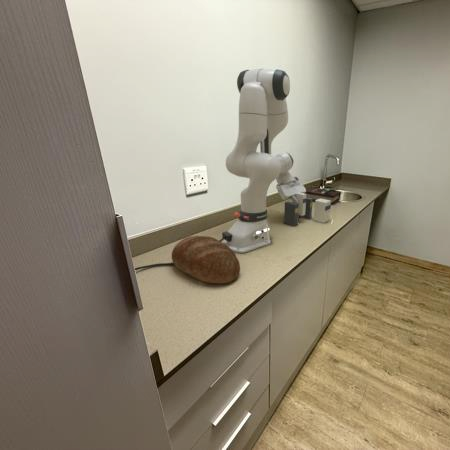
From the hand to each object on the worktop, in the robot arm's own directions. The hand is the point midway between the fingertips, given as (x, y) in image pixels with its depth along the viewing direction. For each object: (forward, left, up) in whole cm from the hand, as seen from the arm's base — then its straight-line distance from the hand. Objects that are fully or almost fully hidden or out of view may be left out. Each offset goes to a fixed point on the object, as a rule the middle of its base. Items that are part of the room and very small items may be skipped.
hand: (300, 202), depth 135 cm
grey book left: (-7, +1, -11) cm, 13 cm away
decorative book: (+51, +14, -11) cm, 54 cm away
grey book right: (+7, +1, -11) cm, 13 cm away
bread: (-64, -3, -11) cm, 65 cm away
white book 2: (+8, -9, -11) cm, 16 cm away
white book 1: (0, +1, -7) cm, 7 cm away
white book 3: (+11, -9, -11) cm, 18 cm away
